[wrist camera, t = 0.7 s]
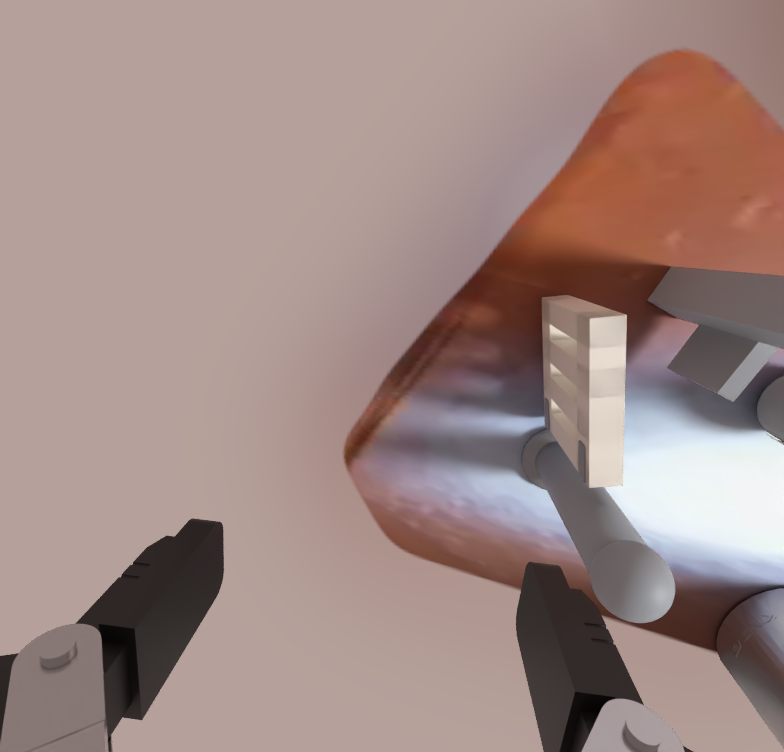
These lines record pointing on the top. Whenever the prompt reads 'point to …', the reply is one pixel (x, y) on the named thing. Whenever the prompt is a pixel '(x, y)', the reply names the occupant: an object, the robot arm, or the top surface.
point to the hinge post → (602, 536)
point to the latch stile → (723, 324)
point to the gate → (585, 385)
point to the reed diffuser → (772, 409)
